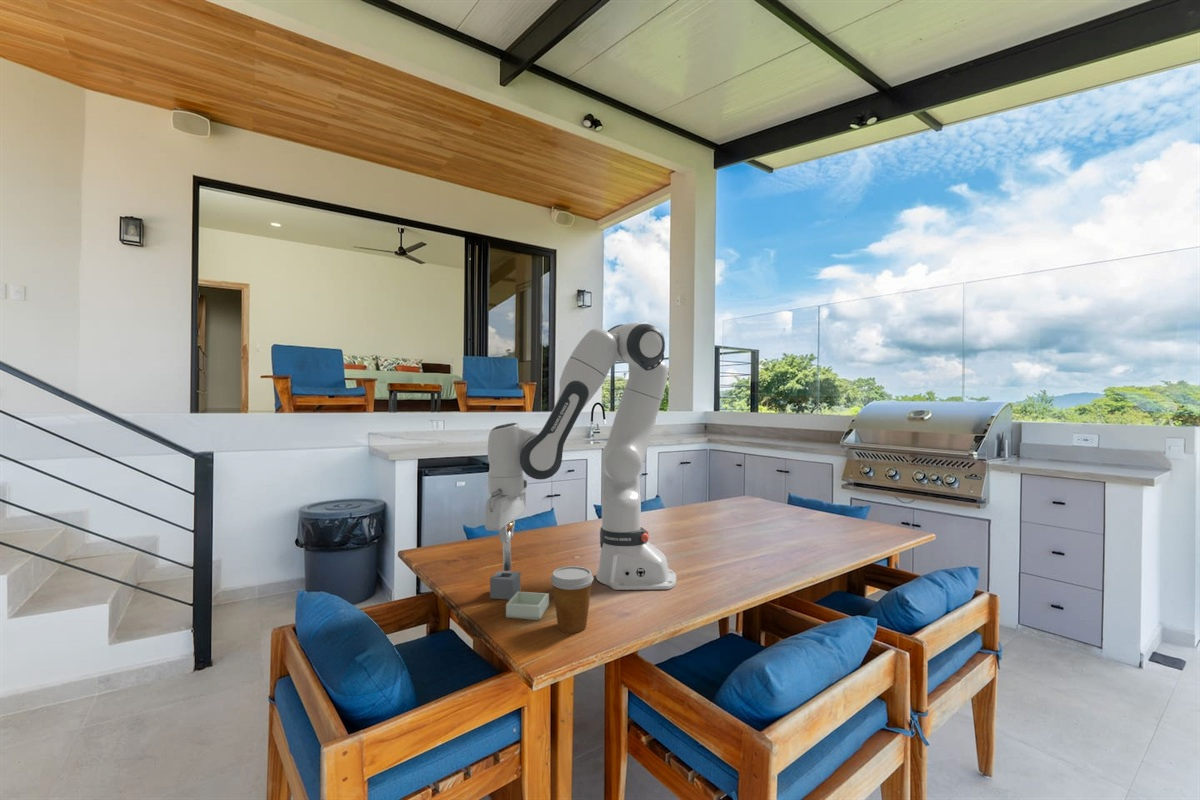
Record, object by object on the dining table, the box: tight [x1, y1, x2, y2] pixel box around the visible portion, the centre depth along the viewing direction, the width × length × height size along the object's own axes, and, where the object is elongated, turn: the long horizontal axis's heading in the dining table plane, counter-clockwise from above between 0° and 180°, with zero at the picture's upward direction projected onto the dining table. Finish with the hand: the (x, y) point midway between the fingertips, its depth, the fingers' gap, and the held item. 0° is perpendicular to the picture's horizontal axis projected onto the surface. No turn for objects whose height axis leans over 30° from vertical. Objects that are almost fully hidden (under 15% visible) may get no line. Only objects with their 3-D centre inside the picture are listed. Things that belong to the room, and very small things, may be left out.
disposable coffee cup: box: [550, 565, 595, 634], centre depth 111 cm, size 10×10×12 cm
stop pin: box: [502, 522, 514, 571], centre depth 130 cm, size 3×3×12 cm
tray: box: [505, 591, 550, 621], centre depth 119 cm, size 8×8×3 cm
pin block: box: [489, 570, 522, 601], centre depth 129 cm, size 6×6×5 cm
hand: (506, 539), depth 130 cm, fingers closed on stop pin, 2 cm apart
